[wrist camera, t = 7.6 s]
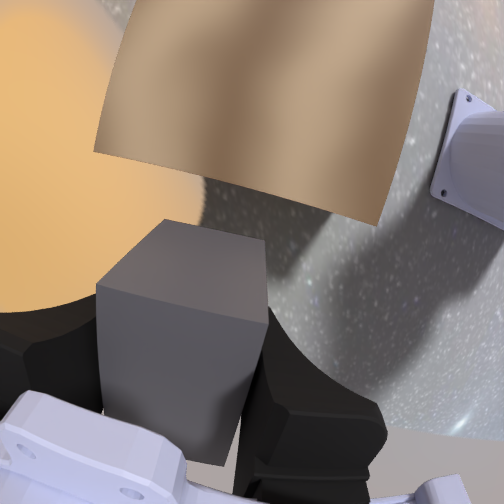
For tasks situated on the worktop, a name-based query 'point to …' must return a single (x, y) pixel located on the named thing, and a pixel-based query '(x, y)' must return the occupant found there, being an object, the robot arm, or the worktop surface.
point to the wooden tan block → (271, 94)
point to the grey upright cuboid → (183, 335)
